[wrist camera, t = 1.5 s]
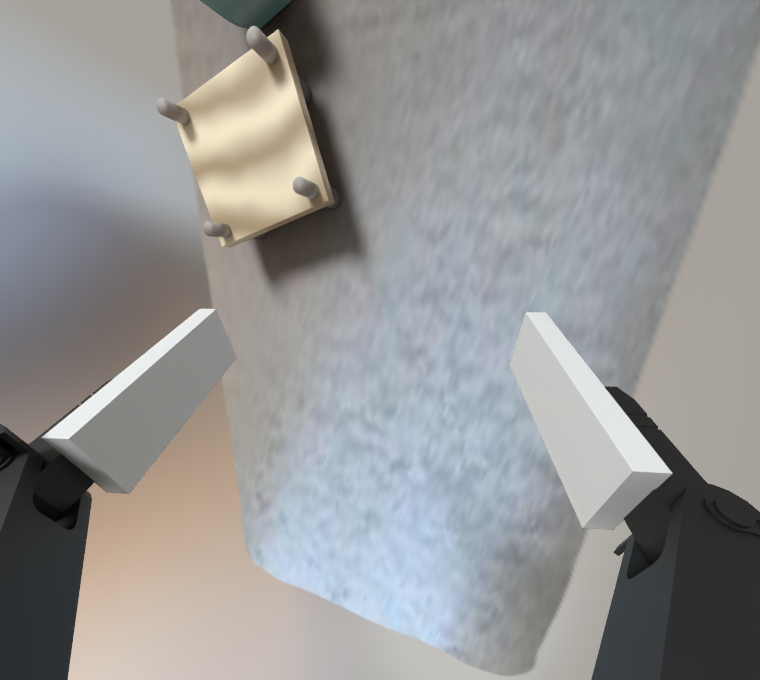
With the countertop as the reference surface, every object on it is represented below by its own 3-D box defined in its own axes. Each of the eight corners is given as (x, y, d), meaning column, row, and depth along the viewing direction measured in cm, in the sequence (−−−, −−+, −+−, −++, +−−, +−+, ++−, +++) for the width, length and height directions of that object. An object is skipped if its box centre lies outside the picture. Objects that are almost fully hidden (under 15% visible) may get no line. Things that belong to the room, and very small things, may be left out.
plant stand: (213, 130, 38) (148, 97, 31) (310, 67, 33) (260, 7, 25) (255, 248, 41) (204, 245, 34) (350, 209, 36) (316, 195, 28)
